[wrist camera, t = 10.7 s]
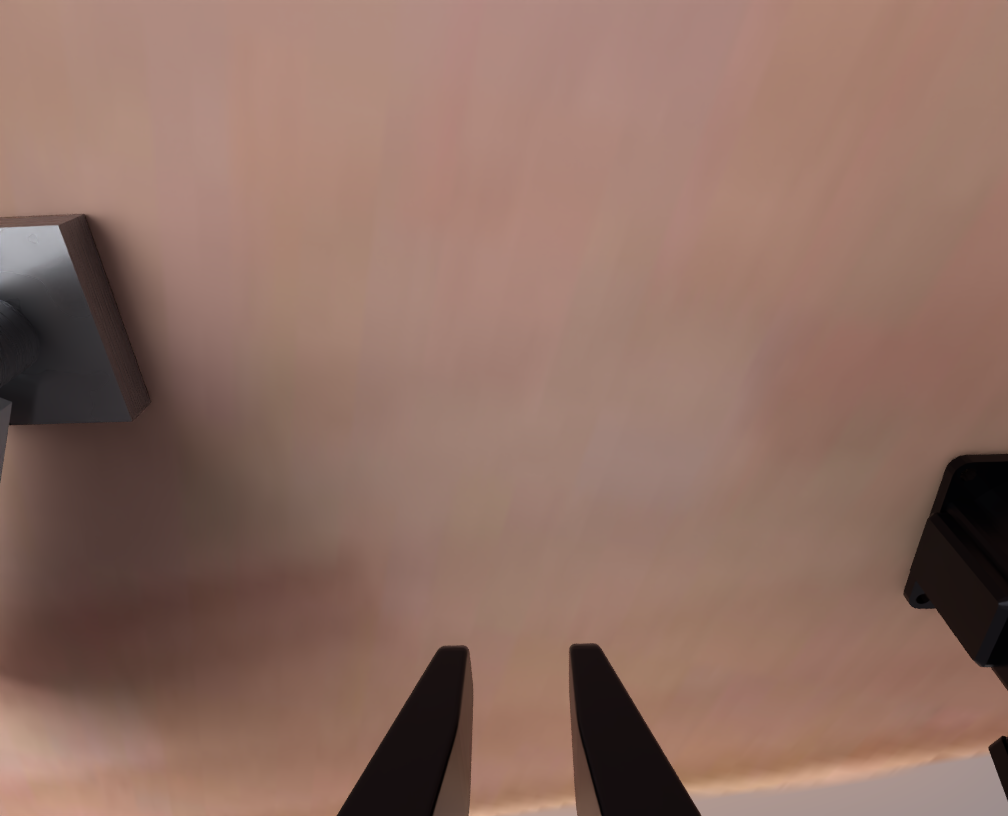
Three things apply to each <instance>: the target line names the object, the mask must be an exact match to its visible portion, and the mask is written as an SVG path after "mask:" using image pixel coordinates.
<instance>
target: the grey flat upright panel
mask: <svg viewBox="0 0 1008 816" xmlns="http://www.w3.org/2000/svg"><path fill="white" fill-rule="evenodd" d="M11 407H12V402H11V401H8V400H5V399H3V398H0V481H1V475H2V468H3V461H4V454H5V448H6V441H7V434H8V427H9V421H10V414H11Z"/></svg>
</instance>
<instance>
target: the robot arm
mask: <svg viewBox="0 0 1008 816" xmlns="http://www.w3.org/2000/svg"><path fill="white" fill-rule="evenodd" d="M966 469H968V471H967V472H965V473H963V474H962V472H963V471H965V470H966ZM904 596H905V598H906V600H907V601H908V602H909V604H910V605H911V606H912V607H914V608H918V609H933V608H936V609H937V611H938V612H939V613H940V615H941V616H942V618H943V619H944V620H945V622H946V623H947V625H948V626H949V628H950V629H951V630H952V632H953V633H954V635H955V636H956V637H957V639H958V640H959V642H960V643H961V644H962V646H963V647H964V649H965V650H966V651H967V653H968V654H969V656H970V657H971V658H972V660H974V661H975V662H976V663H977V664H978V665H979V666H980V667H991V668H992V670H993V671H994V673H995V674H996V675H997V677H998V678H999V679H1000V681H1001V682H1002V683H1003V685H1004V686H1005V688H1006V689H1007V690H1008V454H993V455H964V456H959V457H957V458H955V459H953V460H952V461H951V462H950V463H949V464H948V465H947V467H946V469H945V472H944V475H943V478H942V481H941V484H940V487H939V490H938V493H937V495H936V498H935V501H934V504H933V507H932V510H931V513H930V516H929V518H928V519H927V522H926V525H925V528H924V531H923V534H922V537H921V540H920V542H919V545H918V548H917V551H916V554H915V557H914V560H913V563H912V566H911V569H910V574H909V577H908V580H907V583H906V586H905V589H904ZM569 695H570V713H571V730H572V748H573V765H574V783H575V797H576V808H577V815H578V816H701V814H700V812H699V811H698V809H697V807H696V806H695V804H694V802H693V801H692V799H691V797H690V796H689V794H688V792H687V791H686V789H685V787H684V786H683V784H682V782H681V781H680V779H679V777H678V776H677V774H676V772H675V771H674V769H673V767H672V766H671V764H670V762H669V761H668V759H667V757H666V756H665V754H664V752H663V751H662V749H661V747H660V746H659V744H658V742H657V741H656V739H655V737H654V736H653V734H652V732H651V731H650V729H649V727H648V726H647V724H646V722H645V721H644V719H643V717H642V716H641V714H640V712H639V711H638V709H637V707H636V706H635V704H634V702H633V701H632V699H631V697H630V696H629V694H628V692H627V691H626V689H625V687H624V686H623V684H622V682H621V681H620V679H619V677H618V676H617V674H616V672H615V671H614V669H613V667H612V666H611V664H610V662H609V661H608V659H607V657H606V656H605V654H604V652H603V651H602V649H601V648H600V647H599V646H598V645H597V644H594V643H588V644H572V645H571V646H570V648H569ZM472 723H473V680H472V671H471V661H470V653H469V649H468V647H466V646H464V645H461V646H442V647H440V648H439V649H438V651H437V652H436V654H435V655H434V657H433V658H432V660H431V662H430V663H429V665H428V667H427V668H426V670H425V672H424V673H423V675H422V677H421V678H420V680H419V681H418V683H417V685H416V686H415V688H414V690H413V691H412V693H411V695H410V696H409V698H408V700H407V701H406V703H405V704H404V706H403V708H402V709H401V711H400V713H399V714H398V716H397V718H396V719H395V721H394V722H393V724H392V726H391V727H390V729H389V731H388V732H387V734H386V736H385V737H384V739H383V741H382V742H381V744H380V745H379V747H378V749H377V750H376V752H375V754H374V755H373V757H372V759H371V760H370V762H369V764H368V765H367V767H366V768H365V770H364V772H363V773H362V775H361V777H360V778H359V780H358V782H357V783H356V785H355V787H354V788H353V790H352V791H351V793H350V795H349V796H348V798H347V800H346V801H345V803H344V805H343V806H342V808H341V810H340V811H339V813H338V814H337V816H468V814H469V804H470V785H471V754H472ZM989 751H990V754H991V757H992V759H993V762H994V765H995V768H996V770H997V773H998V776H999V778H1000V781H1001V784H1002V786H1003V789H1004V792H1005V794H1006V797H1007V800H1008V737H1006V736H1002V737H1000V738H999V739H998V740H996V741H995V742H994V743H993V744H991V745H990V746H989Z"/></svg>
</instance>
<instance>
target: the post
mask: <svg viewBox="0 0 1008 816" xmlns="http://www.w3.org/2000/svg"><path fill="white" fill-rule="evenodd" d="M0 398H3V399H5V400H8V401H11V402H12V407H11V414H10V421H9V425H27V424H61V423H96V422H130V421H133V420H134V419H135V418H136V417H137V416H138V415H139V414H140V413H141V412H142V411H143V410H144V409H145V408H146V407H147V406H148V405H149V404H150V403H151V401H150V399H149V396H148V393H147V390H146V387H145V384H144V382H143V379H142V376H141V373H140V370H139V368H138V365H137V362H136V359H135V356H134V353H133V351H132V348H131V345H130V342H129V339H128V337H127V334H126V331H125V328H124V325H123V322H122V320H121V317H120V314H119V311H118V308H117V306H116V303H115V300H114V297H113V294H112V291H111V289H110V286H109V283H108V280H107V277H106V275H105V272H104V269H103V266H102V263H101V260H100V258H99V255H98V252H97V249H96V246H95V243H94V241H93V238H92V235H91V232H90V229H89V227H88V224H87V221H86V218H85V215H84V214H74V215H51V216H28V217H4V218H0Z"/></svg>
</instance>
